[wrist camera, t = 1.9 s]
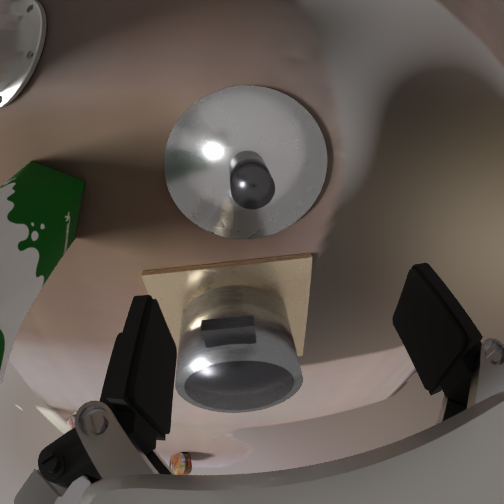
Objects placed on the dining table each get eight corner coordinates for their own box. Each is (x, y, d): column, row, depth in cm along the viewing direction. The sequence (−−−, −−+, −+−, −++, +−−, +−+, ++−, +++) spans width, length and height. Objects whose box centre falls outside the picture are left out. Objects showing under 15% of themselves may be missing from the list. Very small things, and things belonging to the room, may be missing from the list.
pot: (143, 270, 28) (121, 343, 20) (310, 252, 29) (340, 322, 21) (182, 363, 39) (179, 422, 31) (301, 351, 39) (315, 409, 31)
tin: (184, 450, 69) (184, 473, 62) (193, 451, 70) (193, 474, 63) (168, 457, 75) (168, 477, 69) (176, 458, 77) (176, 478, 70)
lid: (155, 97, 19) (132, 103, 14) (322, 84, 20) (353, 86, 15) (181, 240, 27) (173, 280, 22) (320, 225, 28) (341, 261, 23)
